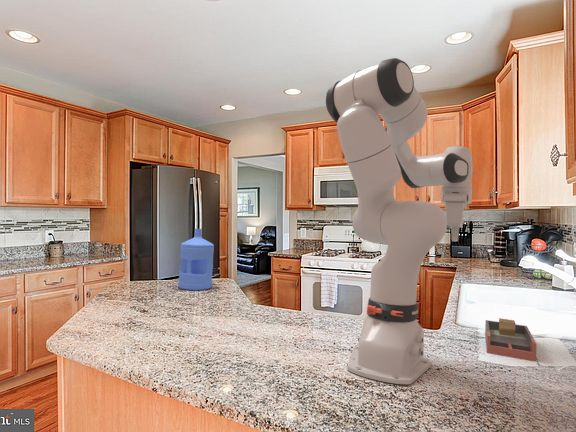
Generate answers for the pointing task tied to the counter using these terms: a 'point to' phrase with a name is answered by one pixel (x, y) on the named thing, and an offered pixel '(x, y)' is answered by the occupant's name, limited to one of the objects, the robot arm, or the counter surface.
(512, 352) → the box
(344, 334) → the counter surface
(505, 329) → the maple block
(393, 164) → the robot arm
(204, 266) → the water jug
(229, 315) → the counter surface
